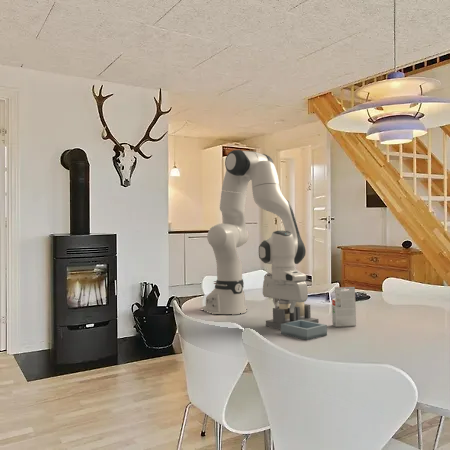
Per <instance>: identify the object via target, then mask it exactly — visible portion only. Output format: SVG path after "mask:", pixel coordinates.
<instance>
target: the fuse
mask: <svg viewBox="0 0 450 450" xmlns="http://www.w3.org/2000/svg"><path fill="white" fill-rule="evenodd" d="M304 304H305V302H296V305H295V306H298V307H300V319H305V310H304Z"/></svg>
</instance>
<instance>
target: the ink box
mask: <svg viewBox="0 0 450 450" xmlns="http://www.w3.org/2000/svg"><path fill="white" fill-rule="evenodd" d="M355 288H356V287H355V286H342V287H341V286H335V287H334V289H335V290H334V291H335V292H334V293H335V297H334V298H331V304H332V305H331V308H332V311H331V313H332V315H331V316H332V317H331V318H332V320H331V321H332V326H333V327H336V328H343V327H344V328H345V327H356V326H357V311H356V309H357V308H356V307H357V305H356V294H355V293H356V289H355ZM345 289H346V290H345Z"/></svg>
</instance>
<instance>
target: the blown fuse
mask: <svg viewBox="0 0 450 450" xmlns="http://www.w3.org/2000/svg"><path fill="white" fill-rule="evenodd" d="M278 302H279V309H284V310H285V323H287V322H290V313H288V308H290V305H291V304H290V301H288V300H281V299H279V301H278Z"/></svg>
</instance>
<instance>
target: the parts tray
mask: <svg viewBox="0 0 450 450" xmlns="http://www.w3.org/2000/svg"><path fill="white" fill-rule="evenodd" d="M280 334H281V335H284V336H287V337H288V336H289V337H292V338H297V339H301V340H304V341H309V340H314V339H317V338H321V337H326V336H327V335H328V325H327V324H324V323H315V322H310V321H304V320H297V321H292V322H288V323H283V324H281V329H280Z"/></svg>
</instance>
